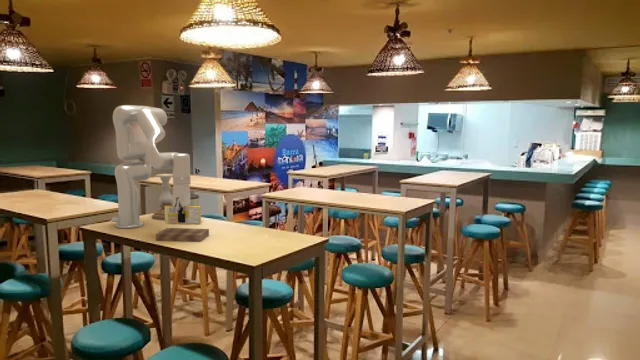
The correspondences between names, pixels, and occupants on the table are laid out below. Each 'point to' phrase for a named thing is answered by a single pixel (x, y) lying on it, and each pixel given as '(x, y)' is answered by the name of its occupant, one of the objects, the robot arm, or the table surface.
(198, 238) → the walnut plinth
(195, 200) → the coffee can
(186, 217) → the candy box
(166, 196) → the candle holder
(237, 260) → the table surface
